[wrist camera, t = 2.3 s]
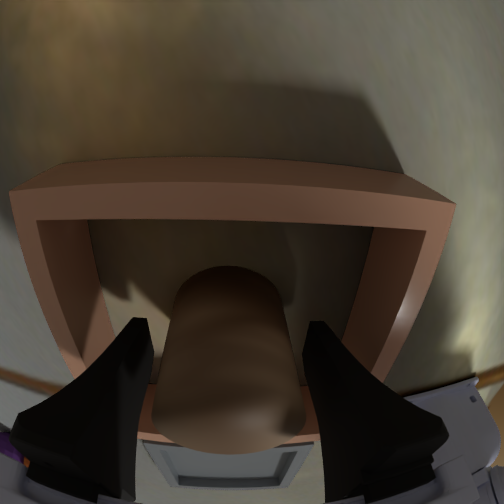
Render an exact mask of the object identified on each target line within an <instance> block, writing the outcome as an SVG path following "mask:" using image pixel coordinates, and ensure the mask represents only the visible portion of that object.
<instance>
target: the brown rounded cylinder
mask: <svg viewBox="0 0 504 504" xmlns="http://www.w3.org/2000/svg"><path fill="white" fill-rule="evenodd" d="M151 419H152V422H153V424H154V426H155V428H156V429H157V430H158V431H159V432H160V433H161V434H162V435H163V436H164V437H166V438H167V439H169V440H171V441H172V442H174V443H176V444H178V445H181V446H183V447H186V448H189V449H192V450H196V451H200V452H205V453H212V454H225V455H235V454H248V453H255V452H260V451H264V450H268V449H271V448H274V447H277V446H279V445H281V444H283V443H285V442H287V441H289V440H291V439H292V438H293V437H295V436H296V435H297V434H298V433H299V432H300V431H301V430H302V429H303V427H304V425H305V422H306V412H305V407H304V402H303V397H302V392H301V388H300V383H299V378H298V374H297V369H296V364H295V360H294V355H293V350H292V346H291V341H290V337H289V332H288V328H287V323H286V319H285V314H284V310H283V305H282V301H281V297H280V295H279V293H278V291H277V289H276V288H275V286H274V285H273V284H272V283H271V282H270V281H269V280H268V279H266V278H265V277H264V276H262V275H261V274H259V273H257V272H255V271H252V270H249V269H246V268H242V267H237V266H219V267H213V268H209V269H206V270H203V271H201V272H198V273H197V274H195V275H193V276H192V277H190V278H189V279H188V280H187V281H186V282H185V283H184V284H183V285H182V286H181V288H180V289H179V291H178V293H177V295H176V299H175V302H174V307H173V311H172V315H171V319H170V324H169V328H168V333H167V337H166V342H165V346H164V351H163V356H162V360H161V365H160V370H159V375H158V380H157V386H156V391H155V396H154V402H153V407H152V413H151Z"/></svg>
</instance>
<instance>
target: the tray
mask: <svg viewBox="0 0 504 504" xmlns="http://www.w3.org/2000/svg"><path fill="white" fill-rule="evenodd" d="M143 444H144V446H145V447H146V449H147V451H148V452H149V454H150V456H151V457H152V459H153V461H154V462H155V464H156V465H157V467H158V469H159V470H160V472H161V473H162V475H163V476H164V478H165V479H166V481H167V482H168V484H169V485H170V487H180V488H192V489H209V490H256V489H274V488H286V487H288V486H289V485H290V483H291V482H292V480H293V479H294V477H295V475H296V474H297V472H298V471H299V469H300V467H301V466H302V464H303V462H304V461H305V459H306V457H307V456H308V454H309V452H310V450H311V449H312V447H313V445H314V442H313V441H310V442H300V443H289V444H281V445H279V446H277V447H274V448H271V449H268V450H264V451H260V452H255V453H248V454H235V455H225V454H212V453H205V452H200V451H196V450H192V449H189V448H186V447H183V446H181V445H178V444H176V443H170V442H160V441H152V440H144V439H143Z"/></svg>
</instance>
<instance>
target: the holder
mask: <svg viewBox="0 0 504 504" xmlns="http://www.w3.org/2000/svg"><path fill="white" fill-rule="evenodd" d="M9 196H10V201H11V207H12V211H13V216H14V221H15V225H16V229H17V233H18V237H19V241H20V245H21V249H22V252H23V256H24V259H25V262H26V266H27V269H28V272H29V275H30V278H31V281H32V284H33V287H34V290H35V292H36V295H37V298H38V301H39V303H40V306H41V308H42V311H43V313H44V316H45V318H46V321H47V323H48V325H49V328H50V330H51V332H52V335H53V337H54V339H55V341H56V343H57V345H58V348H59V350H60V352H61V354H62V356H63V358H64V360H65V362H66V364H67V366H68V368H69V369H70V371H71V373H72V375H73V377H74V379H76V378H77V377H78V376H79V375H80V374H82V373H83V372H84V371H85V370H86V369H87V368H88V367H89V366H90V365H91V364H92V363H93V362H94V361H95V360H96V359H97V358H98V357H99V356H100V355H101V354H102V353H103V352H104V351H105V350H106V348H107V347H108V346H109V345H110V344H111V343H112V342H113V340H114V339H115V335H114V332H113V329H112V325H111V322H110V319H109V315H108V312H107V308H106V304H105V301H104V297H103V293H102V289H101V285H100V281H99V277H98V272H97V268H96V263H95V259H94V254H93V249H92V244H91V238H90V233H89V227H88V221H87V219H194V220H238V221H270V222H295V223H317V224H337V225H354V226H371V227H374V229H373V234H372V238H371V242H370V246H369V250H368V254H367V258H366V262H365V265H364V269H363V273H362V276H361V280H360V284H359V287H358V290H357V294H356V297H355V301H354V304H353V307H352V310H351V313H350V317H349V320H348V323H347V326H346V329H345V332H344V335H343V338H342V341H341V342H342V343H343V344H344V346H345V347H346V348H347V349H348V350H349V351H350V352H351V353H352V355H353V356H354V357H355V358H356V359H357V360H358V361H359V362H360V363H361V364H362V365H363V366H364V367H365V368H366V369H367V370H368V371H369V372H370V373H371V374H372V375H374V376H375V377H376V378H377V379H378V380H380V381H381V382H382V383H383V382H384V380H385V378H386V376H387V375H388V373H389V371H390V369H391V367H392V366H393V364H394V362H395V360H396V358H397V356H398V354H399V352H400V350H401V348H402V346H403V344H404V342H405V340H406V338H407V336H408V334H409V332H410V330H411V328H412V326H413V324H414V321H415V319H416V317H417V315H418V313H419V310H420V308H421V306H422V303H423V301H424V299H425V296H426V294H427V291H428V289H429V286H430V284H431V281H432V278H433V276H434V273H435V270H436V268H437V265H438V262H439V259H440V256H441V254H442V251H443V248H444V245H445V241H446V238H447V235H448V232H449V228H450V225H451V222H452V218H453V215H454V211H455V207H456V203H454V202H452V201H451V200H449V199H447V198H446V197H444V196H443V195H441V194H439V193H438V192H436V191H434V190H432V189H431V188H429V187H427V186H426V185H424V184H422V183H420V182H418V181H417V180H415V179H413V178H411V177H409V176H408V175H406V174H401V173H395V172H388V171H382V170H375V169H368V168H360V167H352V166H344V165H335V164H326V163H316V162H305V161H292V160H278V159H262V158H239V157H147V158H125V159H109V160H95V161H84V162H73V163H64V164H59V165H57V166H55V167H53V168H51V169H49V170H47V171H45V172H43V173H41V174H39V175H37V176H35V177H34V178H32V179H30V180H28V181H26V182H24V183H23V184H21V185H19V186H17V187H16V188H14V189H12V190H10V191H9ZM156 386H157V385H156V384H148V387H147V391H146V394H145V398H144V402H143V406H142V410H141V414H140V420H139V426H138V435H137V439H144V440H152V441H160V442H170V443H174V442H172V441H171V440H169V439H167V438H166V437H164V436H163V435H162V434H161V433H160V432H159V431H158V430H157V429H156V428H155V426H154V424H153V422H152V419H151V413H152V407H153V402H154V396H155V391H156ZM300 388H301V392H302V397H303V402H304V407H305V412H306V422H305V425H304V427H303V429H302V430H301V431H300V432H299V433H298V434H297V435H296V436H295V437H293V438H292V439H291V440H289V441H287V442H285V443H283V444H289V443H300V442H310V441H318V440H320V433H319V426H318V421H317V417H316V413H315V409H314V406H313V402H312V399H311V395H310V391H309V388H308V386H300Z"/></svg>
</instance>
